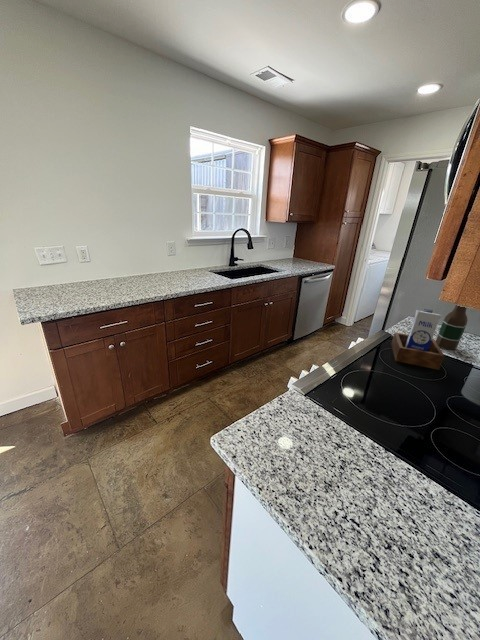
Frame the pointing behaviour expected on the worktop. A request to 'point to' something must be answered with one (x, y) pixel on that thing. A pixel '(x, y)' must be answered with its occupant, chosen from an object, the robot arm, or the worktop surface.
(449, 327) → the beer bottle
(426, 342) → the milk carton
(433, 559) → the worktop surface
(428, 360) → the oak frame
